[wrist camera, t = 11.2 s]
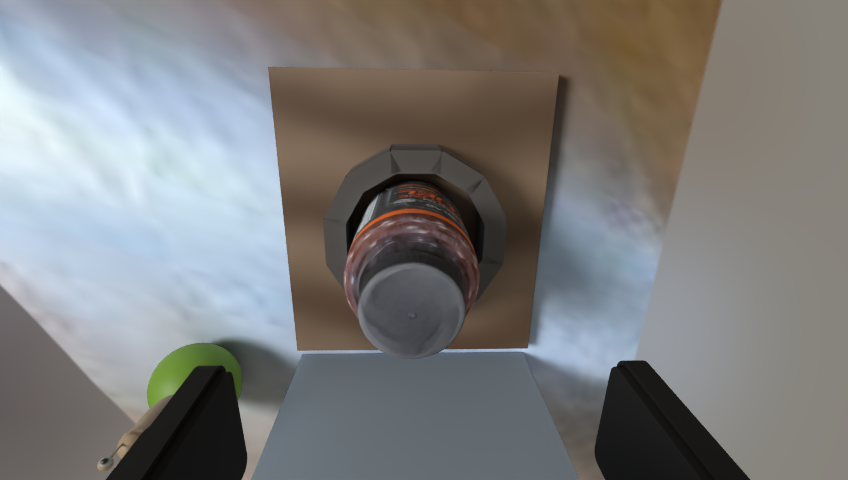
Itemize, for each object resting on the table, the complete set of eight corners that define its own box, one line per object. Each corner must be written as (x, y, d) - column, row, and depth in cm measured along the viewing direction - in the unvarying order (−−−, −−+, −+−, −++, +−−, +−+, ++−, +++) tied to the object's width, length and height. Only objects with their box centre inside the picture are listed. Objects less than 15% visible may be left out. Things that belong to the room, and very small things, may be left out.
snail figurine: (267, 331, 29) (176, 484, 17) (242, 400, 31) (145, 579, 19) (189, 304, 28) (40, 448, 17) (168, 377, 30) (21, 550, 18)
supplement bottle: (472, 191, 25) (520, 263, 14) (442, 277, 27) (466, 398, 16) (376, 163, 24) (352, 218, 13) (352, 254, 26) (315, 364, 15)
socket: (273, 68, 23) (247, 63, 19) (553, 73, 24) (580, 68, 20) (301, 342, 29) (285, 378, 25) (523, 340, 30) (540, 375, 26)
